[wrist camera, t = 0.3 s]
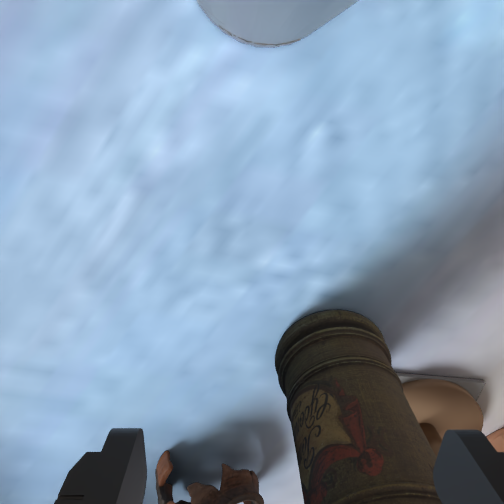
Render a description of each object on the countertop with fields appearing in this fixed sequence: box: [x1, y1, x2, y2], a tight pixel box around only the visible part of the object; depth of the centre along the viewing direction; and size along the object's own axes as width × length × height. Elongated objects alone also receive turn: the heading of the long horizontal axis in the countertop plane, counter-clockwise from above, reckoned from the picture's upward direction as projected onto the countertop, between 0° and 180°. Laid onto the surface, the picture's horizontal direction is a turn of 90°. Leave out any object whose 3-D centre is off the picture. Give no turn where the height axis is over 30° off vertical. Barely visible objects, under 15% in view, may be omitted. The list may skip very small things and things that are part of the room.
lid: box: [402, 379, 483, 457], centre depth 32 cm, size 11×11×5 cm
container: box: [275, 310, 442, 504], centre depth 22 cm, size 9×9×18 cm
